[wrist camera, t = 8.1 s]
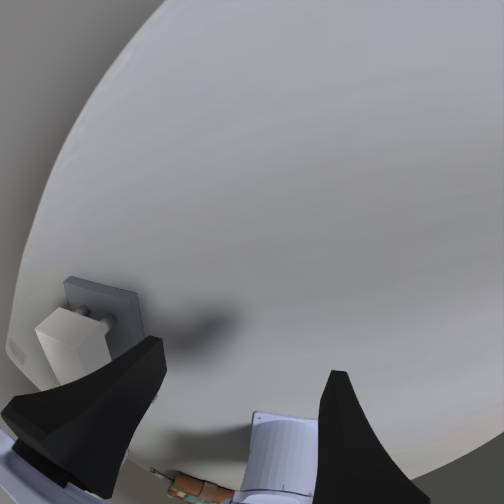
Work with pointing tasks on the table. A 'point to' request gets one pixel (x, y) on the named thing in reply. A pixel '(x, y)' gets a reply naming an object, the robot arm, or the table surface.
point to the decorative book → (196, 490)
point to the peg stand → (108, 312)
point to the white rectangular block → (72, 345)
